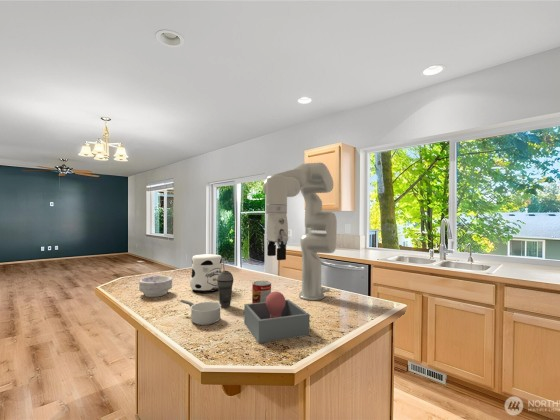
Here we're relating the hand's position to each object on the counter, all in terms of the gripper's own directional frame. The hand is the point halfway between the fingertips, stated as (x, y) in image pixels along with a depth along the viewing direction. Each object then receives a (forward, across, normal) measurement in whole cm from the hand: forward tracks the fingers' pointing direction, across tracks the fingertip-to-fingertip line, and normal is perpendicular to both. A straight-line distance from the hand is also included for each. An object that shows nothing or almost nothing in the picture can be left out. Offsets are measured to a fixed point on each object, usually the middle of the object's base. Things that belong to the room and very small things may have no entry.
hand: (276, 257), depth 102 cm
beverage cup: (+26, +31, +12) cm, 42 cm away
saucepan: (+26, +20, +25) cm, 41 cm away
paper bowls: (+26, +61, +41) cm, 78 cm away
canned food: (+26, +19, -1) cm, 32 cm away
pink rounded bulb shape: (+24, 0, 0) cm, 24 cm away
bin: (+25, 0, 0) cm, 25 cm away
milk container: (+26, +62, +16) cm, 69 cm away
